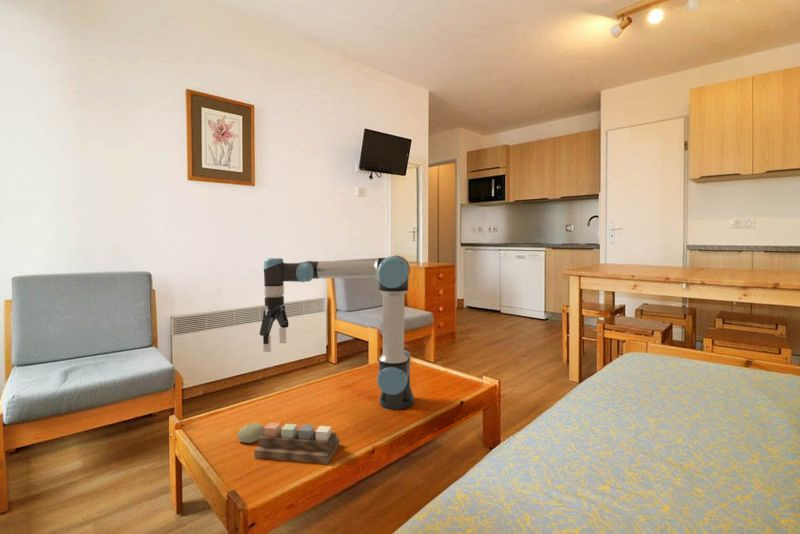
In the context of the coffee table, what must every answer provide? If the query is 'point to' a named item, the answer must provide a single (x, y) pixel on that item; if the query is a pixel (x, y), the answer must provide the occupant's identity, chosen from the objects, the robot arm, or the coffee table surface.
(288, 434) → the sage key
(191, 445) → the coffee table surface
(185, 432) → the coffee table surface
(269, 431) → the terracotta key
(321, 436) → the ivory key
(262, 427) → the sea urchin shell
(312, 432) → the slate key
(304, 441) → the brown stepped piece
